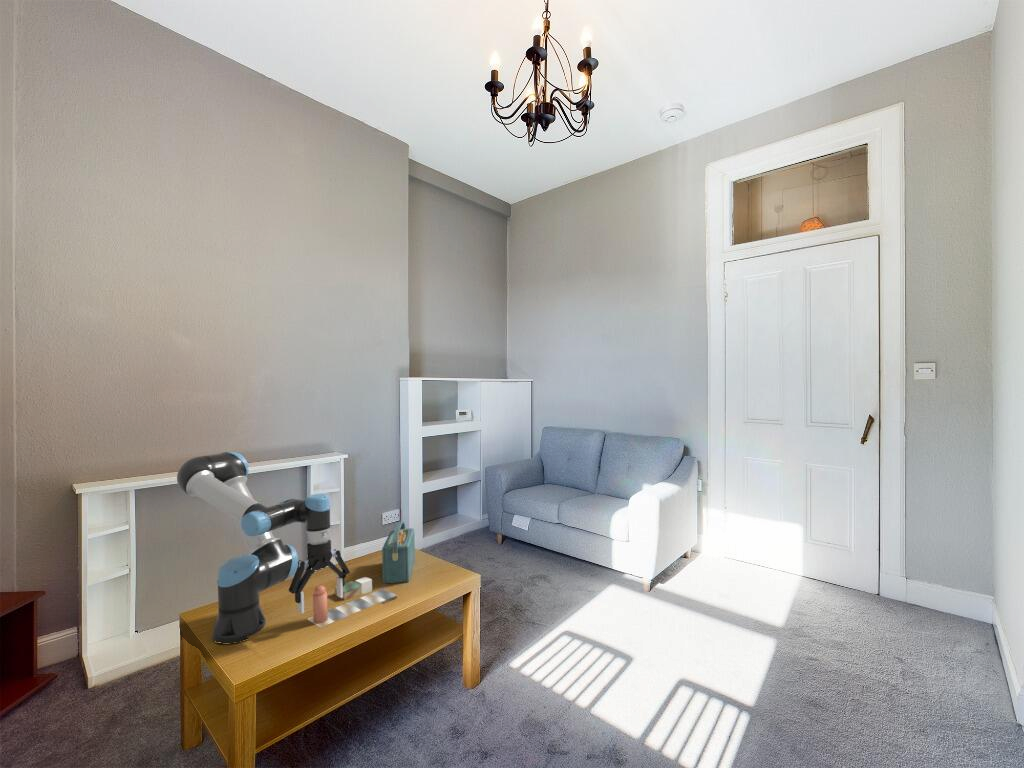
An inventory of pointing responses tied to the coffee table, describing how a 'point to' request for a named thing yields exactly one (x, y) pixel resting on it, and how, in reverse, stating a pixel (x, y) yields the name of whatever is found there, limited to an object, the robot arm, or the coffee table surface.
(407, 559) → the radio
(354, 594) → the stand
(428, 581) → the coffee table surface
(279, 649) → the coffee table surface
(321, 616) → the pink rounded cylinder
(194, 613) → the coffee table surface
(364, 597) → the board
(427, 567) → the coffee table surface
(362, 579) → the white cube
